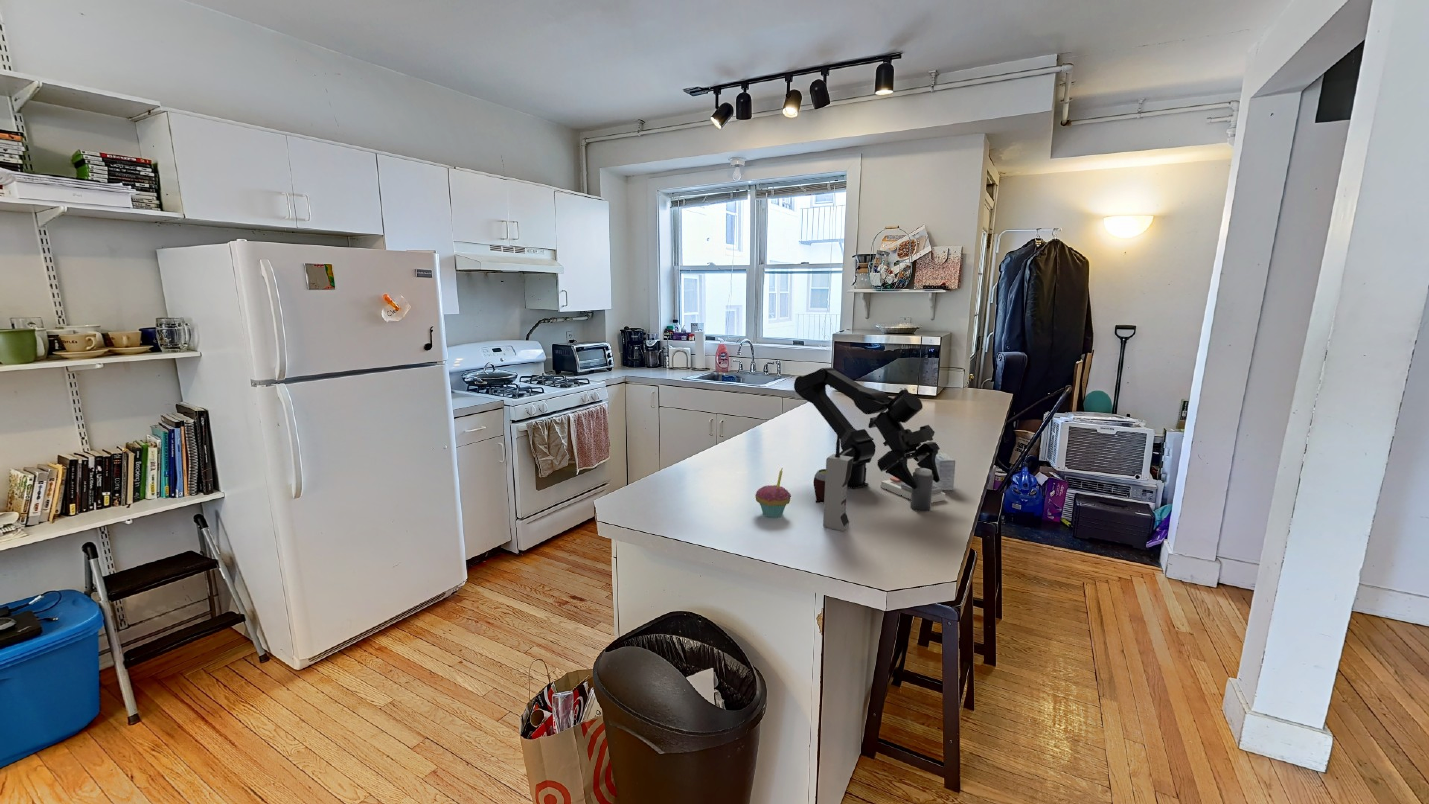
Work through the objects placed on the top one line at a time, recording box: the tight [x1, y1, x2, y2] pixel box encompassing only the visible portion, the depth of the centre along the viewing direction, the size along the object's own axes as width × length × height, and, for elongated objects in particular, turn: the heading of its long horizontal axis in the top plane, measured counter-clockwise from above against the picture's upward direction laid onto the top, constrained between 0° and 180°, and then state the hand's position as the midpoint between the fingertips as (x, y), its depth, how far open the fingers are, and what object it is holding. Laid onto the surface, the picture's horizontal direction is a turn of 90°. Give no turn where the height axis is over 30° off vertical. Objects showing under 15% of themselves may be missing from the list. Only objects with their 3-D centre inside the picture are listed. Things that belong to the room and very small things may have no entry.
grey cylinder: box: [909, 467, 933, 513], centre depth 143 cm, size 5×5×10 cm
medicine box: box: [933, 452, 956, 491], centre depth 160 cm, size 8×4×9 cm, turn 179°
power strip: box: [880, 476, 946, 504], centre depth 154 cm, size 8×15×3 cm, turn 28°
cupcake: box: [754, 467, 792, 519], centre depth 138 cm, size 9×8×12 cm
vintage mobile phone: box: [822, 421, 853, 532], centre depth 129 cm, size 4×5×25 cm
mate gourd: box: [813, 448, 852, 504], centre depth 146 cm, size 8×8×15 cm
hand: (927, 484), depth 142 cm, fingers open, 9 cm apart
